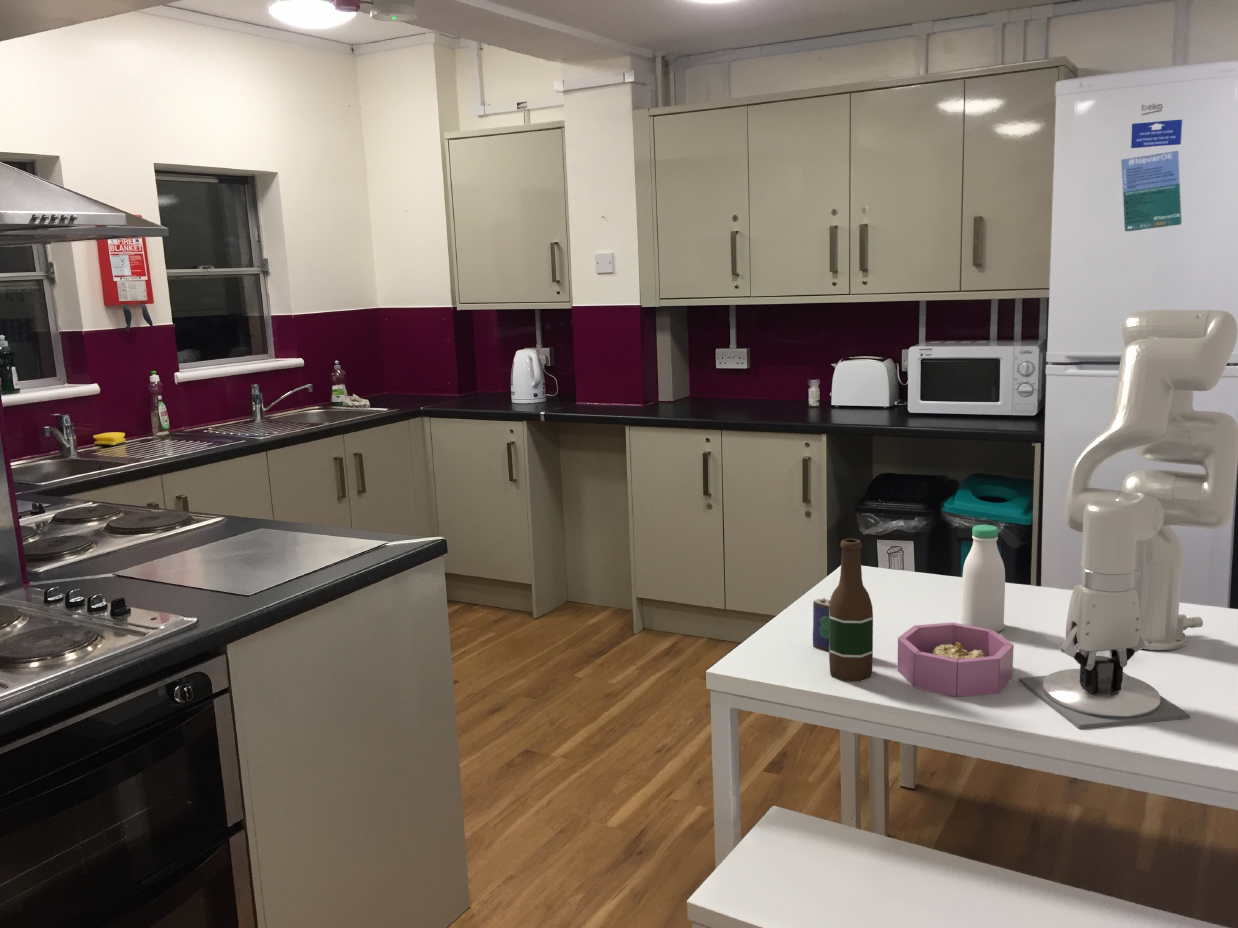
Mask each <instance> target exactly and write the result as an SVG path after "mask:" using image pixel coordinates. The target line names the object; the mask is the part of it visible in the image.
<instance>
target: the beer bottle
mask: <svg viewBox="0 0 1238 928" xmlns="http://www.w3.org/2000/svg"><path fill="white" fill-rule="evenodd" d="M839 546H840V548H841V559H840V560H841V561H840V562H841V563H840V575H839V581H838V585H837V586H836V588H834V590H833V592H832V594H831V595H832V596H831V595H830V598H829V600H830V607H829V652H828V659H829V661H828V662H829V674H830V676H831V678H835V679H836V680H839V681H842V682H854V683H855V682H863V681H866V680H868V679H871V678H872V676H873V666H874V665H873V663H874V662H873V660H874V658H873V657H874V656H873V655H874V654H873V653H874V652H873V651H874V650H873V649H874V647H873V646H874V611H873V610H874V609H873V604H872V601H871V600H872V599H871V597H870V595H869V592H868V590H867V589H866V587H865V586H864V584H863V583H864V582H863V574H862V556H861V550H862V548H863V545H862V542H861V540H860V539H856V538H845V539H842V540H841V542H840V545H839Z"/></svg>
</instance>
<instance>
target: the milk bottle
mask: <svg viewBox="0 0 1238 928" xmlns="http://www.w3.org/2000/svg"><path fill="white" fill-rule="evenodd" d="M971 533H972V536H971V537H972V539H973V541H972V546H971V548H970V551H969V552H968V554H967V556H966V558H965V561H964V564H963V568H962V569H963V570H962V579H961V580H962V582H961V583H962V584H961V586H962V587H961V611H960V612H961V615H960V616H961V620H960V622H961V623H960V624H964V625H969V626H975V627H980V628H986V629H991V630H994V631H995V632H997V633H999V632H1001V631H1002V630H1003V628H1004V624H1005V623H1004V622H1005V600H1006V599H1005V597H1006V596H1005V595H1006V594H1005V593H1006V569H1005V568H1006V567H1005V564H1004V560H1003V558H1002V557H1001V554H1000V551H999V547H998V543H997V542H998V539H999V537H998V536H999V528H998V527H997V526H994V525H989V524H977V525H974V526H973V527H972V531H971Z"/></svg>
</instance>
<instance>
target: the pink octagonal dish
mask: <svg viewBox="0 0 1238 928" xmlns="http://www.w3.org/2000/svg"><path fill="white" fill-rule="evenodd" d="M956 642H959V643H960V644H961V645H962V647H963V650H967V652H968V653H969V652H972V651H974V650H978V651H979V650H981V651H982V652H983V653H984V654H985V657H977V658H966V659H954V658H949V657H944V656H939V655H934V654H932V653H933V650H934V649H935V647H937V646H938V647H939V645H941V644H942V645H945V644H951V645H953V646H954V647H955V644H956ZM959 643H957V644H959ZM957 644H956V646H957ZM958 646H959V645H958ZM1014 649H1015V648H1014V644H1013V643H1012V642H1010V640H1008V639H1006V637H1003V636H1002V635H1001V634H999V632H995V631H994V630H991V629H986V628H980V627H975V626H969V625H964V624H961V623H958V622H942V623H941V622H940V623H939V622H938V623H929V624H918V625H917V624H915V625H913V626H912V627H910V628H909V629H908V630H906V631H905V632H904V633H902V634H900V635H899V636H898V637H897V672H898V673H899V674H900V675H901V676H902V677H903V678H904V679H905V680H906V681H907V683H909V684H910V685H911V686H913V687H914V688H916V689H920V690H921V689H922V690H924V691H929V692H933V693H938V694H942V695H946V696H951V697H956V698H961V697H970V696H981V695H992V694H993V695H994V694H999V693H1001V691H1002V690H1003V689H1004V688H1005V687H1006V685H1008V684H1009V683H1010V681H1011V680H1012V679H1013V673H1014V671H1013V670H1014V669H1013V668H1014Z"/></svg>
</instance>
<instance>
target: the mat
mask: <svg viewBox="0 0 1238 928" xmlns="http://www.w3.org/2000/svg"><path fill="white" fill-rule="evenodd" d="M1123 674H1125V675H1128V676H1130V675H1129V674H1128V673H1126V672H1124V671H1123ZM1048 675H1049V674H1048ZM1048 675H1036V676H1028V677H1027V676H1026V677H1024V676H1023V677H1018V678H1017V679H1018V681H1017V682H1019V683H1020V685H1022V686H1024V687H1025V688H1026V689H1027V690H1028V691H1030V692H1031V693H1033V695H1035V696H1036V697H1038V698H1039V699H1040V700H1041V701H1043V702H1044V703H1045V704H1046V705H1048V706H1049V707H1050V708H1052V709H1053V710H1054V711H1056V712H1057V713H1058V714H1060V715H1061V716H1062V717H1063V718H1065V720H1067V721H1068V722H1069V723H1071V724H1072V725H1073V726H1074V727H1076V728H1077V729H1078V730H1079V729H1091V728H1099V727H1100V728H1101V727H1110V726H1111V727H1112V726H1119V725H1121V726H1122V725H1131V724H1141V723H1153V722H1163V721H1173V720H1181V719H1182V720H1184V719H1190V717H1191V713H1189V712H1187V711H1186V710H1184V709H1182V708H1181V707H1179V706H1178V705H1176V704H1174V703H1173V702H1171V701H1169V699H1167V698H1165V697H1163V696H1162V695H1160V707H1159V709H1158V710H1157V711H1156V712H1154V713H1152V714H1150V715H1147V716H1143V717H1138V718H1128V719H1114V718H1102V717H1096V716H1090V715H1085V714H1081V713H1078V712H1074V711H1071V710H1069V709H1066V708H1064V707H1061V706H1059V705H1057V704H1056V703H1054V702H1052V701H1051V700H1050V699H1048V698H1047V697H1046V695H1045V694H1044V692H1043V680H1044V679H1045V677H1047V676H1048Z"/></svg>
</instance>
